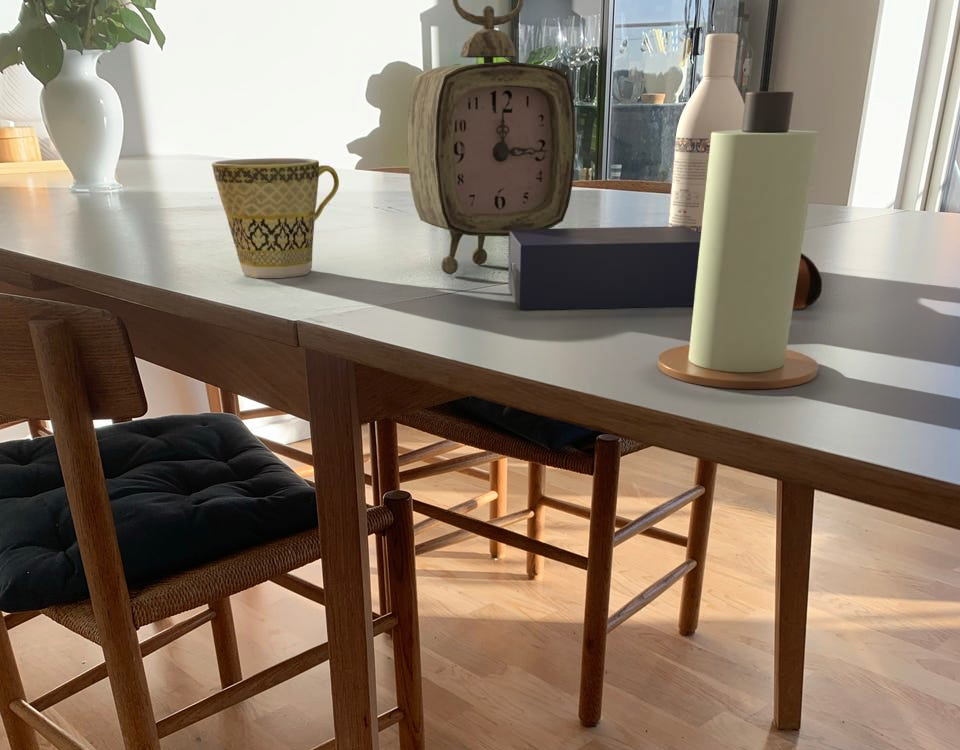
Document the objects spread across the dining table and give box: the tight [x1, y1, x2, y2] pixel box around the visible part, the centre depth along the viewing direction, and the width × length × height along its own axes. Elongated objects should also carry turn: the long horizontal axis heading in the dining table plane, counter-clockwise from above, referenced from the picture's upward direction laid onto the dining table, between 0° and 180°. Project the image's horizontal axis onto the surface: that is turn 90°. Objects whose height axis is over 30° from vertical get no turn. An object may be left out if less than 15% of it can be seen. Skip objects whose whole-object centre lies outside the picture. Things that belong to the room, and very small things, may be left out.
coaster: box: [657, 344, 819, 390], centre depth 61 cm, size 10×10×1 cm
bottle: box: [689, 91, 820, 373], centre depth 57 cm, size 6×6×15 cm
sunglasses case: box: [792, 252, 823, 310], centre depth 84 cm, size 18×7×7 cm
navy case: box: [507, 226, 701, 311], centre depth 81 cm, size 16×10×5 cm, turn 94°
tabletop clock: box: [406, 0, 577, 275], centre depth 90 cm, size 14×9×25 cm, turn 114°
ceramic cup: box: [211, 157, 340, 279], centre depth 93 cm, size 13×10×10 cm
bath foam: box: [667, 32, 745, 233], centre depth 93 cm, size 7×7×20 cm
